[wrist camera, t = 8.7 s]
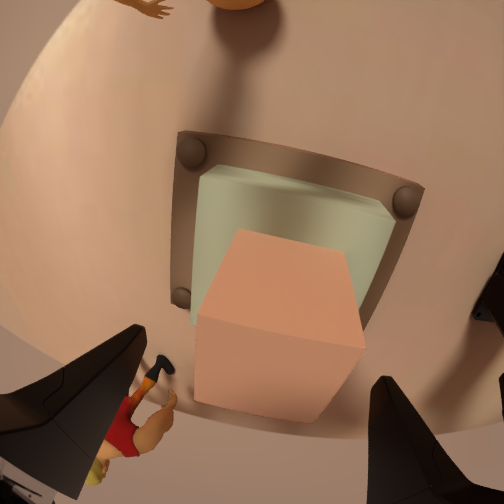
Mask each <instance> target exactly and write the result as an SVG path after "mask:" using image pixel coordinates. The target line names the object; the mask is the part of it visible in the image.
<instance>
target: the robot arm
mask: <svg viewBox="0 0 504 504" xmlns="http://www.w3.org/2000/svg"><path fill="white" fill-rule="evenodd" d="M472 316H473V317H474V319H476V320H482V321H489V322H495V324H496V325H497V327H498V329H499V330H500V332H501V334H502V335H503V337H504V255H503V257H502V259H501V261H500V263H499V265H498V267H497V269H496V271H495V273H494V275H493V277H492V279H491V281H490V283H489V285H488V286H487V288H486V290H485V292H484V294H483V295H482V297H481V299H480V301H479V302H478V304H477V306H476V307H475V309H474V310H473V312H472ZM146 346H147V337H146V329H145V327H144V326H141V325H138V324H133V325H132V326H130V327H128V328H127V329H125V330H123V331H122V332H120V333H118V334H117V335H115V336H113V337H112V338H110V339H108V340H107V341H105V342H103V343H102V344H100V345H98V346H97V347H95V348H94V349H92V350H90V351H89V352H87V353H85V354H84V355H82V356H80V357H79V358H77V359H75V360H74V361H72V362H70V363H69V364H67V365H65V367H62V368H60V369H59V370H57V371H55V372H54V373H52V374H50V375H48V376H47V377H44V378H42V379H40V380H38V381H37V382H34V383H32V384H30V385H28V386H25V387H23V388H21V389H19V390H16V391H14V392H12V393H8V394H0V504H55V502H54V497H55V495H56V493H57V491H58V492H60V493H62V494H64V495H66V496H68V497H70V498H72V499H75V500H77V499H78V497H79V494H80V492H81V490H82V487H83V485H84V483H85V480H86V478H87V476H88V474H89V471H90V469H91V467H92V465H93V463H94V462H93V461H94V460H95V458H96V456H97V454H98V451H99V449H100V447H101V445H102V443H103V441H104V439H105V437H106V434H107V432H108V430H109V428H110V426H111V424H112V422H113V420H114V418H115V416H116V414H117V412H118V410H119V408H120V406H121V404H122V402H123V400H124V398H125V396H126V394H127V392H128V390H129V388H130V386H131V384H132V382H133V380H134V378H135V375H136V372H137V370H138V367H139V364H140V362H141V359H142V356H143V354H144V351H145V349H146ZM499 384H500V391H501V399H502V416H503V421H504V373H503V374H502V375H501V376H500V377H499ZM368 447H369V448H368V455H369V456H368V489H367V504H504V491H500V490H495V489H491V488H487V487H484V486H480V485H477V484H474V483H472V482H471V481H469V480H468V479H467V478H466V477H465V475H464V474H463V473H462V472H461V471H460V470H459V468H458V467H457V466H456V465H455V463H454V462H453V461H452V460H451V458H450V457H449V456H448V455H447V453H446V452H445V451H444V449H443V448H442V446H441V445H440V444H439V442H438V441H437V440H436V438H435V436H434V435H433V433H432V432H431V431H430V429H429V428H428V426H427V425H426V423H425V422H424V421H423V419H422V418H421V416H420V415H419V414H418V412H417V411H416V409H415V408H414V407H413V405H412V404H411V402H410V401H409V400H408V398H407V397H406V395H405V394H404V393H403V391H402V390H401V389H400V387H399V386H398V385H397V383H396V382H395V380H394V379H393V378H392V377H391V376H384V375H383V376H381V377H380V378H379V379H378V380H377V382H376V383H375V384H374V385H373V387H372V389H371V393H370V408H369V421H368Z"/></svg>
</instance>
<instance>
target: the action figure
mask: <svg viewBox="0 0 504 504" xmlns="http://www.w3.org/2000/svg"><path fill="white" fill-rule="evenodd" d="M161 368H163V369H164V370H165V372H166V373H167V374H170V375H171V374H173V373H174V368H173V367H172V365H171V364H170V363H169V362H168V360H167V359H166V358H165V357H164V356H163V355H158V356H157V359H156V363H155V365H154V366H153V367H152V368H151V369H150V370H149V371H148V372H147V373H146V375H145V377H144V379H143V382H142V386H141V387H140V388H139V389H138V390H137V391H136V392H135V393H134V394H133V395H132V396H131V397H128V395H129V390H128V392H127V394H126V396H125V398H124V400H123V402H122V404H121V406H120V408H119V410H118V412H117V414H116V416H115V418H114V420H113V422H112V424H111V426H110V428H109V430H108V432H107V434H106V437H105V439H104V441H103V443H102V445H101V447H100V449H99V451H98V454H97V456H96V458H95V460H94V461H93V462H94V463H93V465H92V467H91V469H90V471H89V474H88V476H87V478H86V480H85V483H86V484H88V485H93V486H95V485H98V484H99V483H101V481H102V479H103V478H105V475H106V472H107V471H108V466H109V462H110V461H109V459H111V458H115V457H121V456H125V457H134V456H139V455H140V454H143V453H147V452H149V451H151V450H153V449H154V448H155V447H156V445H157V444H158V442H159V441H160V440H161V439H162V436H163V434H164V433H165V432H167V431H168V430H169V429H170V428H171V427H172V425H173V409H174V407H175V405H176V403H177V396H176V394H175V393H174V391H173V390H171V389H169V391H168V392H169V398H170V400H168V404H167V405H166V406H161V407H162V409H161V410H159V411H157V412H155V413H154V414H152V415H151V416H150V417H149V418H148V420H147V421H146V423H145V425H144V426H142V427H140V428H139V426H136V425H135V424H133V423H132V422H131V417H132V415H133V413H134V411H135V409H136V408H137V406H138V405H139V403H140V402H141V400H142V399H143V397H144V395H145V394H146V393H147V392H148V391H149V390H150V389H151V388H153V386H154V385H155V383H157V380H158V376H159V373H160V370H161Z"/></svg>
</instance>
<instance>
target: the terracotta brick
mask: <svg viewBox="0 0 504 504" xmlns="http://www.w3.org/2000/svg"><path fill="white" fill-rule="evenodd" d="M365 350H366V346H365V340H364V335H363V330H362V325H361V320H360V316H359V311H358V307H357V302H356V298H355V294H354V289H353V285H352V281H351V277H350V273H349V269H348V265H347V262H346V258H345V254H344V252H341V251H336V250H332V249H328V248H324V247H319V246H315V245H311V244H306V243H302V242H298V241H293V240H289V239H285V238H280V237H276V236H271V235H267V234H262V233H258V232H253V231H249V230H244V229H239V228H238V230H237V232H236V234H235V236H234V238H233V241H232V243H231V245H230V247H229V249H228V251H227V253H226V255H225V257H224V259H223V261H222V263H221V265H220V267H219V269H218V271H217V273H216V275H215V277H214V279H213V282H212V284H211V286H210V288H209V290H208V292H207V294H206V296H205V298H204V300H203V302H202V304H201V307H200V309H199V311H198V313H197V324H196V344H195V372H194V400H195V401H199V402H202V403H206V404H210V405H214V406H217V407H221V408H226V409H230V410H234V411H239V412H243V413H248V414H253V415H258V416H263V417H269V418H275V419H281V420H287V421H294V422H302V423H310V424H313V423H314V422H315V420H316V419H317V418H318V417H319V415H320V414H321V413H322V411H323V410H324V409H325V408H326V406H327V405H328V404H329V402H330V401H331V400H332V398H333V397H334V395H335V394H336V393H337V391H338V390H339V389H340V387H341V386H342V384H343V383H344V381H345V380H346V379H347V377H348V376H349V374H350V373H351V371H352V370H353V368H354V367H355V365H356V364H357V362H358V361H359V359H360V357H361V356H362V354H363V353H364V351H365Z"/></svg>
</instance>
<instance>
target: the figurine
mask: <svg viewBox="0 0 504 504" xmlns="http://www.w3.org/2000/svg"><path fill="white" fill-rule="evenodd" d="M115 1H117V2H119V3H122V4H124V5H128V6H131V7H133V8H135V9H137V10H138V11H140V12H141V13H143V14H145V15H147V16H150V17H154V18H158V19H163V17H160V16H158V14H160V15H170V14H169V13H166V12H162V11H160V10H163V9H173V7H167V6H161V5H158V3H159V2H161V1H165V0H153V1H151V2H144V1H143V0H115ZM207 1H208V2H209V3H211V4H213V5H215V6H217V7H220V8H223V9H229V10H241V9H247V8H251V7H254V6H256V5H258V4H260V3H262V2H263V1H264V0H207Z"/></svg>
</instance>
